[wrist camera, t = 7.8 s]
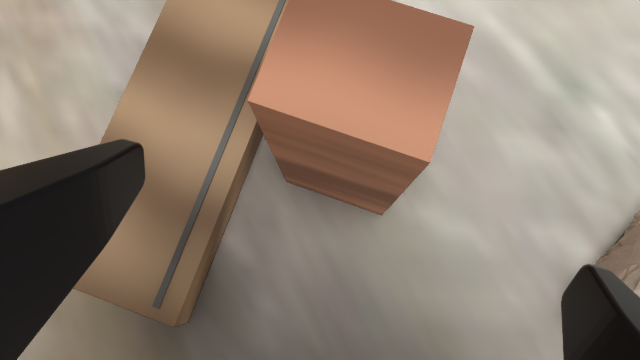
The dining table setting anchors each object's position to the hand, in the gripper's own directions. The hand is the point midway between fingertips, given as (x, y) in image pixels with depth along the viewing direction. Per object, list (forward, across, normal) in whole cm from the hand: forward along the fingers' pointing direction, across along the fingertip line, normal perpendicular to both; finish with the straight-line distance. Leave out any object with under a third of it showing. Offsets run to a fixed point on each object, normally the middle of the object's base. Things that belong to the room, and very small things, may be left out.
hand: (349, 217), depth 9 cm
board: (+13, +9, +5) cm, 17 cm away
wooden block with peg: (+14, +1, +5) cm, 15 cm away
